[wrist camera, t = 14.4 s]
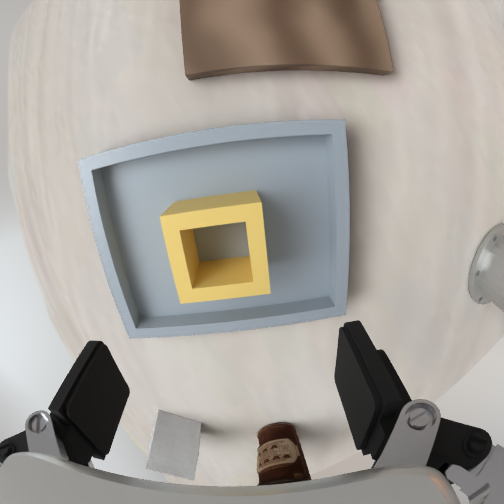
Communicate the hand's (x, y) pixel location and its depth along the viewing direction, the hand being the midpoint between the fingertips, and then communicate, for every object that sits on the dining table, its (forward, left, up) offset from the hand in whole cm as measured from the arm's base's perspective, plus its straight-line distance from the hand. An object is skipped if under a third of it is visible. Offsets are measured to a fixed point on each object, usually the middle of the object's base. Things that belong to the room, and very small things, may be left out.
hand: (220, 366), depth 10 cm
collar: (+1, 0, -16) cm, 16 cm away
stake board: (-7, -23, -17) cm, 29 cm away
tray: (+1, 0, -17) cm, 17 cm away
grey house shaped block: (+13, +29, -17) cm, 36 cm away
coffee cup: (-2, +34, -17) cm, 38 cm away
